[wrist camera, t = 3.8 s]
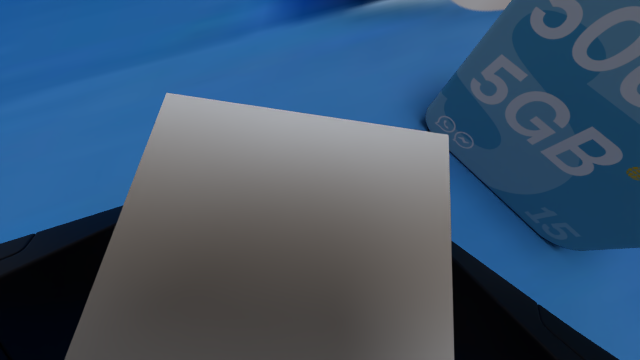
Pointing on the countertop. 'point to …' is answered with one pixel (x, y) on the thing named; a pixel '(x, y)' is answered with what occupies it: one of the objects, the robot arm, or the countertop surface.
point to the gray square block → (276, 242)
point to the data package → (554, 118)
